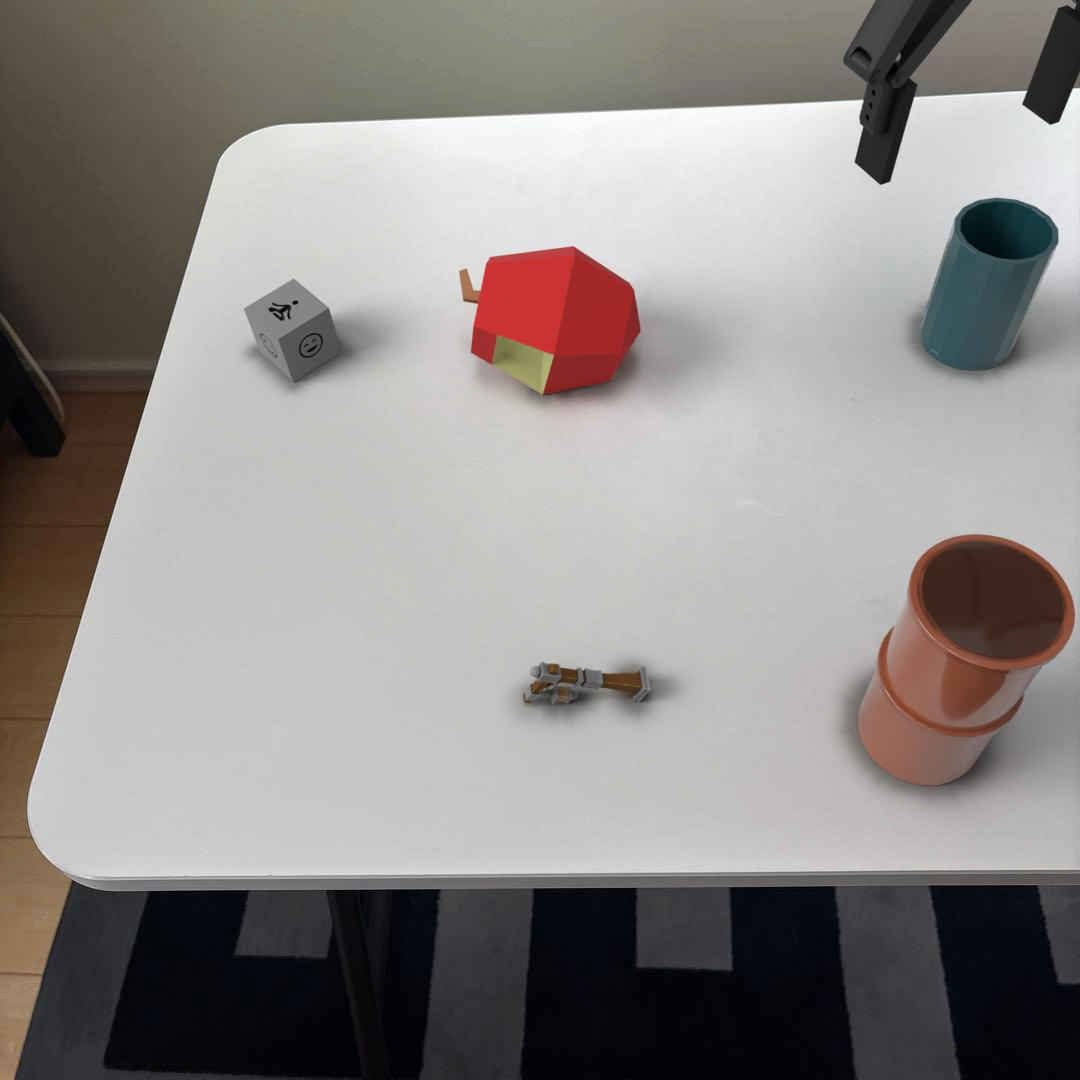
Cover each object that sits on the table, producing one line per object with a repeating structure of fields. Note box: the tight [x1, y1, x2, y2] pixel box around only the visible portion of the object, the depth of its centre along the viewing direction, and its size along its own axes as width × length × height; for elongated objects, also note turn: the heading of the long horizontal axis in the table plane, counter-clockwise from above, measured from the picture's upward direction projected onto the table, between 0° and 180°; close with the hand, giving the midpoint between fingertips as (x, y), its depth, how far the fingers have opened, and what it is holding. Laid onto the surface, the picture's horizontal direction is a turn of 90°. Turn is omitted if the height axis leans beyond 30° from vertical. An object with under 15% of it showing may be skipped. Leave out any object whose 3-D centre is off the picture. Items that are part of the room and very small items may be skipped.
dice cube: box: [243, 278, 343, 383], centre depth 88 cm, size 5×5×5 cm
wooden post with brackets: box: [522, 661, 651, 705], centre depth 70 cm, size 2×8×4 cm, turn 95°
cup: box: [919, 197, 1060, 371], centre depth 83 cm, size 7×7×11 cm
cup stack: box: [857, 533, 1076, 786], centre depth 61 cm, size 8×8×16 cm
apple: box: [458, 245, 642, 396], centre depth 83 cm, size 12×12×15 cm
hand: (958, 142), depth 69 cm, fingers open, 13 cm apart
